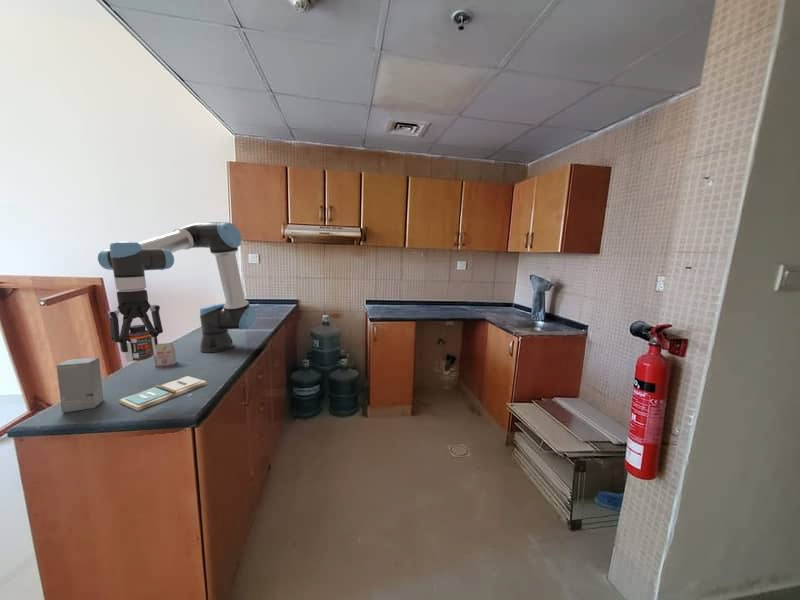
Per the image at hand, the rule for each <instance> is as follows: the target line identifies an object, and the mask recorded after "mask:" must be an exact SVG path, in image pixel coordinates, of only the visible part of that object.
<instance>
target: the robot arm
mask: <svg viewBox="0 0 800 600" xmlns="http://www.w3.org/2000/svg"><path fill="white" fill-rule="evenodd" d="M241 244H242V235H241V232H240V230H239V229H238V226H236V225H235V224H233V223H231V222H226V221H214V222H213V221H212V222H203V221H202V222H197V223H196V222H195V223H192V224H188V225H186V226H182V227H178V228H176V229H174V230H173V231H172V232H170V233H167V234H163V235H160V236H156V237H153V238H149V239H146V240H142V241H140V242H136V241H135V242H134V241H113V242H111V243H110V245H109V248H108V249H107V248H106V249H102V250H101V251H100V252H99V253H98V255H97V262H98V264H99V265H100V266H101V267H102V268H103V269H104V270H107V271H113V277H114V283H115V284H114V285H115V289H116V291H117V292H116V299H117V304H118V306H117V308H116V309H113V310H108V311H107V312H106V315H107V316H108V318H109V327H110V340H111V342H114V343H119V345H120V346H119V347H120V351H121V352H122V353H124V354H125V359H126V361H127V362H130V363H131V362H134V361H133V357H132V350H131V343H130V342H128V341H127V339H128V335H129V333H130V326H132V322H133V321H134V319H136V318H139V319H140V320H141V322H142V325H145V328H146V329H145V330H146V331H149V333H150V338H151V346H152V357H154V356H155V355H156V348H155V345H157V344H159V342H158V336H159V335H160V334H163V332H164V331H163V325H162V320H161V315H160V309H161V308H160V305H157V304H150V302H149V297H148V291H147V289H146V288H147V283H146V276H145V271H164V270H168V269H171V268H172V267H173V265H174V264H175V256H174V254H173V253H176V252H178V251H180V250H185V251H186V250H190V249H195V248H208V249H209V250H210V254H212V255H213V256H215V260H216V266H217V269H218V273H219V278H220V282H221V288H222V290H223V294H224V298H225V303H217V304H210V305H205V306H203V307H201V308H200V309H199V317H200V326H201V334H202V337H201V341H200V345H199V350H200V352H201V351H202V352H201V353H216V352H217V351H218V352H222V351H226V350H229V349H231V348H233V347H234V340H233V339H232V337H231V335H230V333H229V330H241V331H242V330H249V329H251V328H252V327H253V326H254V324H255V321H256V319H257V311H256V308H255V307H253V306H250V303H249V301H248V300H247V299H246V297H245V293H244V289H243V283H242V279H241V274H240V271H239V270H240V269H239V264H238V260H237V255H236V253H237V252H238V251H239V249H238V247H240V246H241ZM149 310H150V312H151V318H152V322H153V324H152V322H151V319H150V318H149V315H148V311H149ZM119 314H121V315H123V317H122V325H121V329H120V324H119V323H120V322H119V316H120V315H119Z"/></svg>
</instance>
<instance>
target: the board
mask: <svg viewBox="0 0 800 600" xmlns="http://www.w3.org/2000/svg"><path fill="white" fill-rule="evenodd" d="M185 377H190V378H193V379H197V380H200V381H201V382H199V383H196V384H193V385H191V386H188V387H185V388H183V389H180V390H177V391H174V390H171V389H168V388H165V387H163V386H162V385H165V384H168V383H171V382H174V381H177V380H179V379H182V378H185ZM207 384H208V383H207V381H206V380H203V379H200V378H197V377H192V376H190V375H187V376H183V377H180V378H178V379H176V380H175V379H174V380H172V381H170V382H166V383H163V384H161V385H159V384H156V385H154V387H151V388H149V389H146V390H143V391H140V392H137V393H135V394H131V395H129V396H127V397H123V398H120V399H118V402H119V404H121V405H123V406H126V407H128V408H130V409H133V410H135V411H138V412H139V411H141V410H144V409H147V408H149V407H151V406H154V405H157V404H159V403H162V402H164V401H167V400H170V399H172V398H174V397H178V396H180V395H182V394H184V393H188V392H190V391H193V390H196V389H198V388H201V387H203V386H206V385H207ZM154 388H157V389H160V390H163V391H166V392H169V394H167V395H164V396H162V397H159V398H156V399H154V400H151V401H148V402H146V403H143V404H140V405H137V404H135V403H133V402H130V401H128V400H125V398H128V397H131V396H134V395H136V394H139V393H142V392H145V391H148V390H151V389H154Z"/></svg>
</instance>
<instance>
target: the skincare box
mask: <svg viewBox="0 0 800 600" xmlns="http://www.w3.org/2000/svg"><path fill="white" fill-rule="evenodd" d="M56 371H57V372H56V373H57V382H58V390H59V398H60V399H59V400H60V408H61V412H62V414H65V413H64V412H66V413H71V412H77V411H83V410H89V409H96V407H97V406H99V405H100V404H102V402H103V401H104V391H103V381H102V375H101V374H102V373H101V365H100V357H89V358H88V357H82V358H75V359H67V360H65V361H62V362H60V363H58V364H57V365H56ZM62 401H63V402H62Z"/></svg>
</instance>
